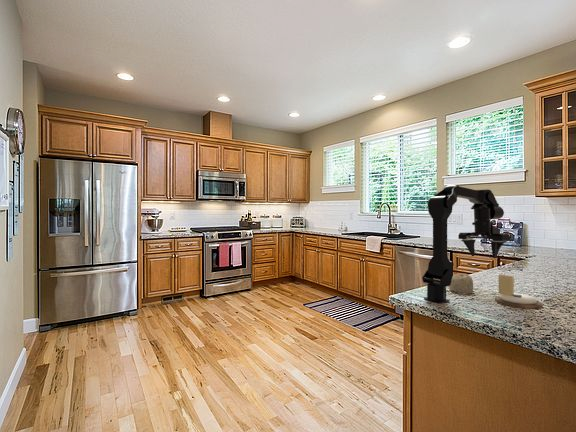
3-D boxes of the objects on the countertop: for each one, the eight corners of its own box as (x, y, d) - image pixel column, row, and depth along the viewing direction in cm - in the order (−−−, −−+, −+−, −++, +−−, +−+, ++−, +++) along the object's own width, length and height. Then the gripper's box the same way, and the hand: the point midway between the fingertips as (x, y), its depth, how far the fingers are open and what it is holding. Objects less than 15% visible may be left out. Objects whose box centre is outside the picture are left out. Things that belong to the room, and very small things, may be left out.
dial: (528, 306, 105) (528, 281, 105) (492, 298, 115) (492, 276, 115) (542, 301, 110) (542, 278, 110) (506, 294, 120) (506, 273, 120)
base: (532, 311, 103) (532, 307, 103) (487, 301, 115) (487, 298, 115) (549, 304, 110) (549, 301, 110) (505, 295, 122) (505, 293, 122)
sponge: (470, 303, 126) (484, 283, 126) (451, 290, 126) (465, 270, 126) (458, 297, 135) (471, 278, 135) (440, 284, 135) (453, 266, 135)
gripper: (518, 219, 122) (519, 258, 122) (474, 219, 139) (475, 253, 139) (500, 219, 118) (502, 260, 117) (456, 220, 135) (458, 255, 135)
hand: (483, 257), depth 127 cm, fingers open, 9 cm apart
